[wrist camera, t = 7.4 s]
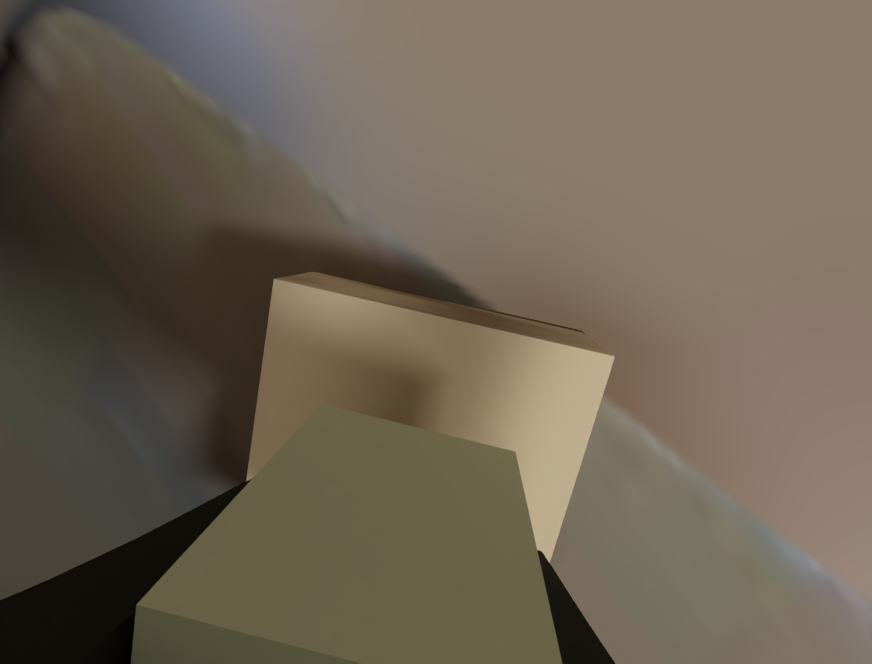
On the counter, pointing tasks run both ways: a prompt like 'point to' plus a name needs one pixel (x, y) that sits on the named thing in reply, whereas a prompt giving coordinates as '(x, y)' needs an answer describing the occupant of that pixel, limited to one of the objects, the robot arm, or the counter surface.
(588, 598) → the counter surface
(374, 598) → the sage block
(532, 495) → the birch base
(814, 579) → the counter surface
